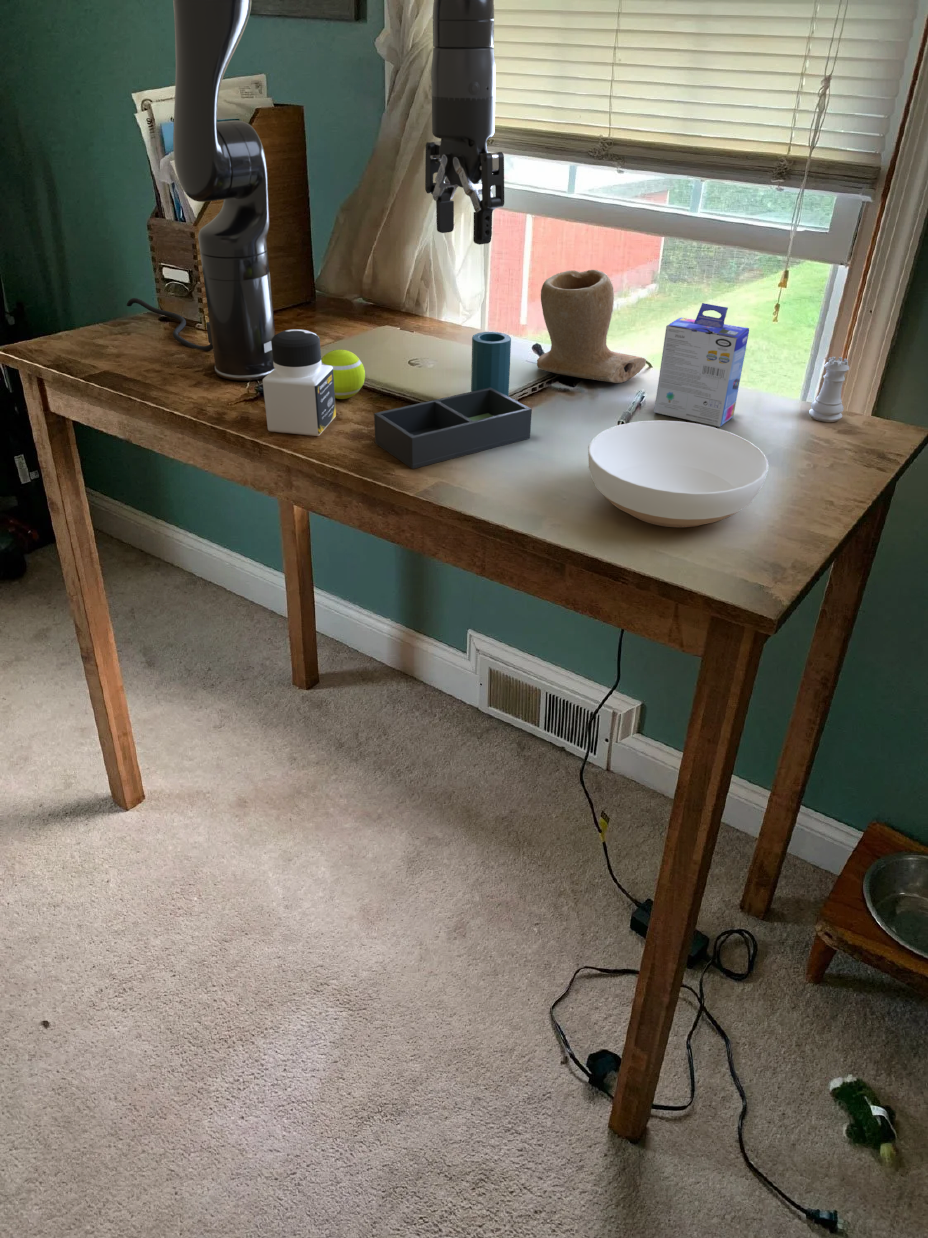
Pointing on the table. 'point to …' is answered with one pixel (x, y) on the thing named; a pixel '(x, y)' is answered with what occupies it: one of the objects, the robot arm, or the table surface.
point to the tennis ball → (345, 372)
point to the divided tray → (452, 427)
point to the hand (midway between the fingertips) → (463, 237)
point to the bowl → (676, 471)
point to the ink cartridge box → (701, 368)
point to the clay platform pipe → (583, 328)
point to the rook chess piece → (830, 392)
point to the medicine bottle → (298, 385)
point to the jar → (491, 361)
